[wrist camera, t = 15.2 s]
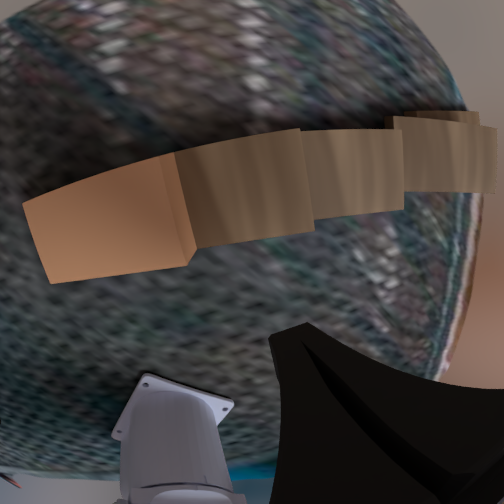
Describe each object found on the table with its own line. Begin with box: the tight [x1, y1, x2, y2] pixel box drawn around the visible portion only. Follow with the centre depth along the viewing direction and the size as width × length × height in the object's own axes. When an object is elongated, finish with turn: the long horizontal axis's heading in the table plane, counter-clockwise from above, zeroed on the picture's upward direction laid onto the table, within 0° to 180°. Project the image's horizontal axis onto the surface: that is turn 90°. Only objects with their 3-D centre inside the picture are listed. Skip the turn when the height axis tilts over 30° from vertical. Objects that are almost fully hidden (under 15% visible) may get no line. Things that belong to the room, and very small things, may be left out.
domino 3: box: [300, 129, 404, 220], centre depth 17 cm, size 2×5×9 cm
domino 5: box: [384, 116, 497, 194], centre depth 17 cm, size 2×5×9 cm
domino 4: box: [404, 111, 480, 125], centre depth 20 cm, size 2×5×9 cm
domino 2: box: [174, 128, 315, 249], centre depth 15 cm, size 2×5×9 cm
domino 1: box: [22, 152, 197, 284], centre depth 14 cm, size 2×5×9 cm
